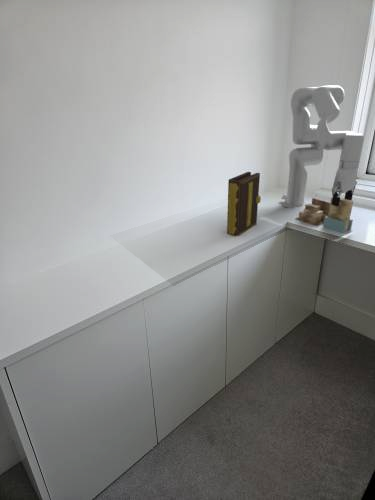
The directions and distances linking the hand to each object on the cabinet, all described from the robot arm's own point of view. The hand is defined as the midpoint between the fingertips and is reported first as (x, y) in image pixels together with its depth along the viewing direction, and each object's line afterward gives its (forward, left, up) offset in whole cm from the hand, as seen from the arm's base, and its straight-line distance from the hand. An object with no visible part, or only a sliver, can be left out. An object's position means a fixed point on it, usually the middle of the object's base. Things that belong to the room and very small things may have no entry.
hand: (341, 203), depth 145 cm
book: (-29, -31, -13) cm, 45 cm away
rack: (-13, +2, -13) cm, 19 cm away
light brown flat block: (0, 0, -12) cm, 12 cm away
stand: (0, 0, -13) cm, 13 cm away
